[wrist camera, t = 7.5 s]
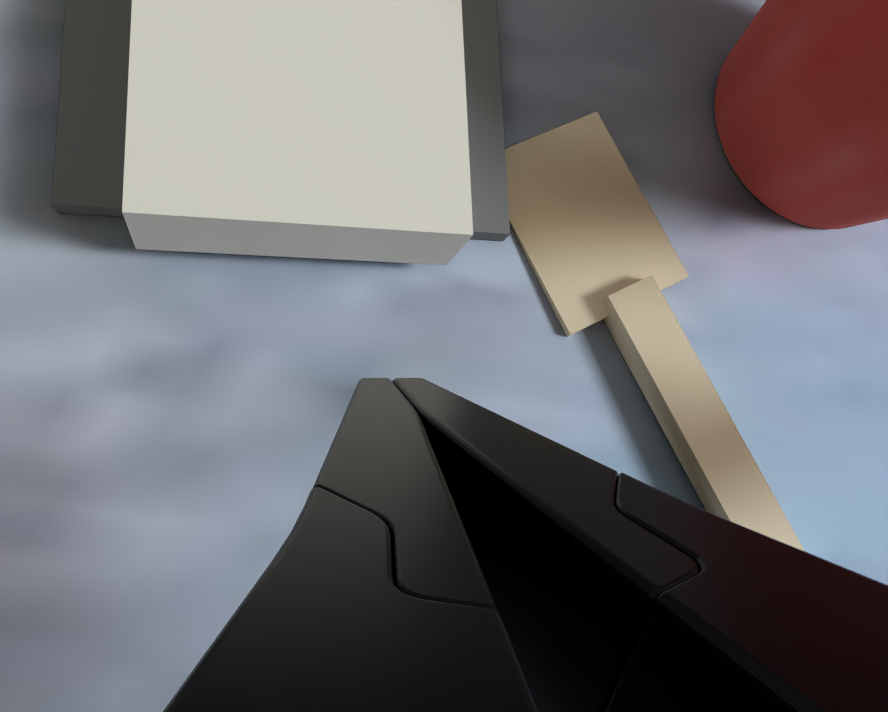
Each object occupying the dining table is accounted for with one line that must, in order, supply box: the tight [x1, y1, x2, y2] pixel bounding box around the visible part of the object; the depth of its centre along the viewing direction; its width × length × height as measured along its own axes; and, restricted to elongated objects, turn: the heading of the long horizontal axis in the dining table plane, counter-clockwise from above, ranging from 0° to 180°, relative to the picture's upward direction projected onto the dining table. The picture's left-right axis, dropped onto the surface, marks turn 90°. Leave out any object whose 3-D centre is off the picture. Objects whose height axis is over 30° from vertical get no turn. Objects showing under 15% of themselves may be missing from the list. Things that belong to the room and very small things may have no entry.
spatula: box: [505, 111, 804, 551], centre depth 22 cm, size 18×4×1 cm, turn 27°
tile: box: [122, 0, 473, 265], centre depth 19 cm, size 3×8×11 cm
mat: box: [52, 0, 510, 241], centre depth 21 cm, size 12×12×1 cm
